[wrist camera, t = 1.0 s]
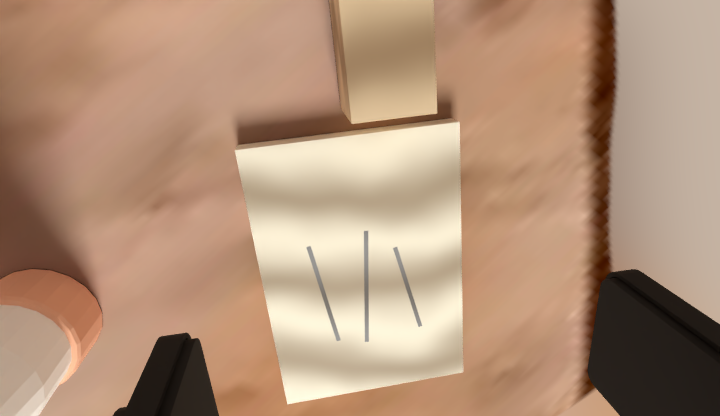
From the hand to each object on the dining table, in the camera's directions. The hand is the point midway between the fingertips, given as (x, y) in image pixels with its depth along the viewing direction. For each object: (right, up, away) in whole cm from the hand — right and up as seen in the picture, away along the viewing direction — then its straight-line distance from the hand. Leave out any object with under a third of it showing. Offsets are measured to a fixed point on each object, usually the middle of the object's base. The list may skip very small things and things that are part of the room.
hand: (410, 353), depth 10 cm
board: (-1, -1, +22) cm, 22 cm away
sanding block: (-1, +13, +17) cm, 21 cm away
